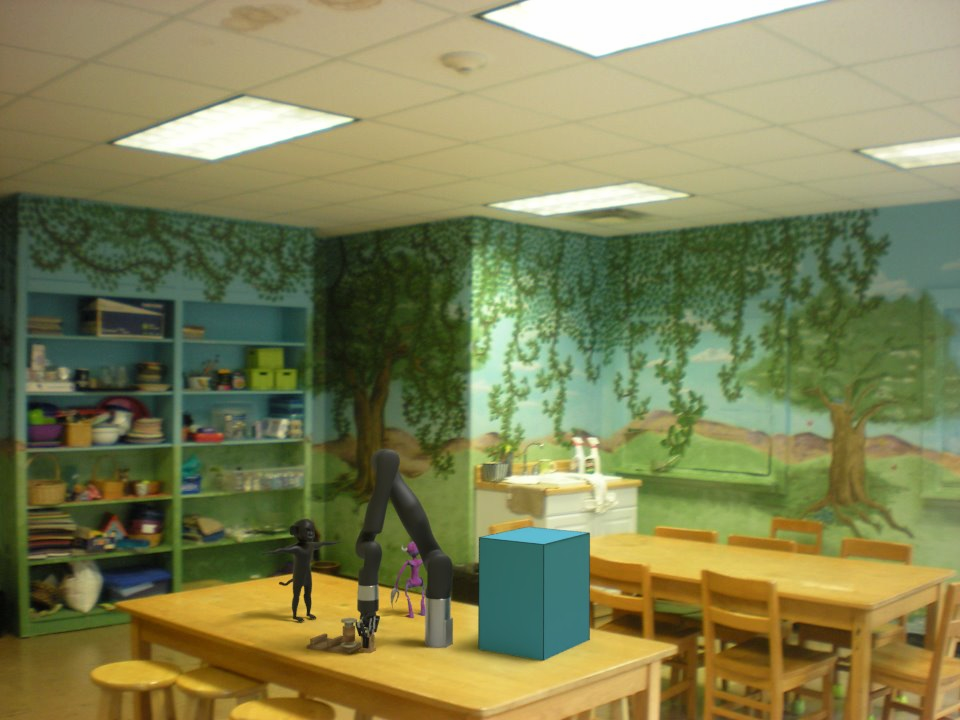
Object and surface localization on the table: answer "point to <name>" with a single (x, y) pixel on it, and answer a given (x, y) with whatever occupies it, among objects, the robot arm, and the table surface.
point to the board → (338, 640)
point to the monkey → (302, 562)
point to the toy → (414, 580)
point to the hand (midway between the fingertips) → (367, 646)
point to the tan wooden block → (371, 644)
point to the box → (534, 592)
